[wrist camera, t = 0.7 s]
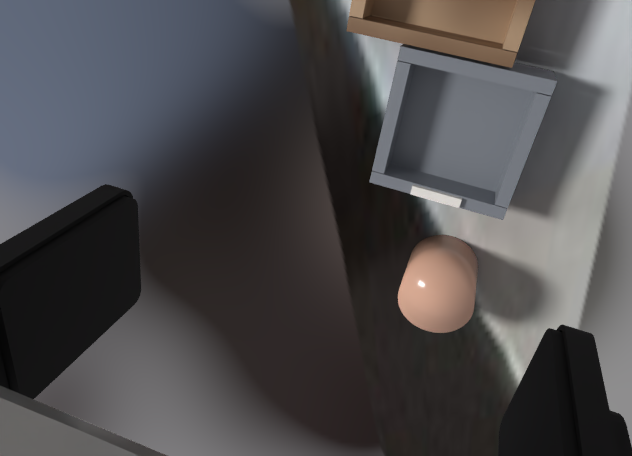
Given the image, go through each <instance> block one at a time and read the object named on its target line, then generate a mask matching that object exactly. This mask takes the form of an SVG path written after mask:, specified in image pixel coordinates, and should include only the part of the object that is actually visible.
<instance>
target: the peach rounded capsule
mask: <svg viewBox="0 0 632 456" xmlns="http://www.w3.org/2000/svg"><path fill="white" fill-rule="evenodd" d="M477 274H478V261H477V258H476V255H475V253H474V252H473V250H472V249H471V248H470V247H469V246H468V245H467V244H466V243H465V242H463V241H462V240H460V239H458V238H455V237H452V236H447V235H435V236H431V237H428V238H425V239H424V240H422V241H420V242H419V243H418V244H417V245H416V246H415V247H414V249H413V251H412V253H411V256H410V259H409V262H408V265H407V268H406V271H405V274H404V277H403V280H402V283H401V286H400V289H399V292H398V303H399V307H400V309H401V311H402V313H403V314H404V316H405V317H406V318H407V319H408V320H409V321H410V322H411V323H412V324H414V325H415V326H417V327H419V328H421V329H423V330H426V331H430V332H436V333H445V332H451V331H454V330H457V329H459V328H461V327H462V326H464V325H465V324H466V323H467V322H468V321H469V319H470V318H471V316H472V314H473V311H474V304H475V294H476V284H477Z"/></svg>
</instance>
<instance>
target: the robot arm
mask: <svg viewBox="0 0 632 456" xmlns="http://www.w3.org/2000/svg"><path fill="white" fill-rule="evenodd" d="M138 228H139V227H138V205H137V202H136V200H135V199H133V196H132V194H131V193H130V192H129V191H127V190H124V189H121V188H118V187H114V186H111V185H106V184H105V185H103V186H100V187H99V188H97V189H95V190H94V191H92V192H90V193H88V194H87V195H85V196H83V197H82V198H80V199H78V200H76V201H74V202H73V203H71V204H69V205H68V206H66V207H64V208H62V209H61V210H59V211H57V212H55V213H54V214H52V215H50V216H49V217H47V218H45V219H43V220H42V221H40V222H38V223H36V224H35V225H33V226H31V227H30V228H28V229H26V230H24V231H23V232H21V233H19V234H17V235H16V236H14V237H12V238H10V239H9V240H7V241H5V242H4V243H2V244H0V456H167V455H165V454H162V453H160V452H157V451H155V450H153V449H150V448H148V447H146V446H143V445H141V444H139V443H136V442H134V441H132V440H129V439H127V438H124V437H122V436H120V435H117V434H115V433H113V432H110V431H108V430H105V429H103V428H101V427H98V426H96V425H93V424H91V423H89V422H86V421H84V420H82V419H79V418H77V417H74V416H72V415H69V414H67V413H65V412H62V411H59V410H57V409H55V408H53V407H50V406H48V405H45V404H43V403H40V402H38V401H36V400H33V399H34V398H35V397H36V396H37V395H39V394H40V393H41V392H42V391H43V390H44V389H45V388H46V387H47V386H48V385H49V384H50V383H51V382H52V381H53V380H55V378H57V377H58V376H59V375H60V374H61V373H62V372H63V371H64V370H65V369H66V368H67V367H68V366H69V365H70V364H72V363H73V362H74V361H75V360H76V359H77V358H78V357H79V356H80V355H81V354H82V353H83V352H84V351H85V350H86V349H88V347H90V346H91V345H92V344H93V343H94V342H95V341H96V340H97V339H98V338H99V337H100V336H101V335H102V334H103V333H105V332H106V331H107V330H108V329H109V328H110V327H111V326H112V325H113V324H114V323H115V322H116V321H117V320H118V319H119V318H120V317H122V316H123V315H124V314H125V313H126V312H127V311H128V310H129V309H130V308H131V307H132V306H133V305H134V304H135V303H136V302H137V300H138V298H139V296H140V292H141V278H140V253H139V229H138ZM498 456H632V447H631V443H630V439H629V435H628V430H627V426H626V423H625V420H624V418H623V417H622V416H621V415H620V414H619V413H616V412H612V411H610V410H609V406H608V401H607V396H606V391H605V386H604V382H603V377H602V372H601V367H600V363H599V358H598V353H597V348H596V343H595V339H594V336H593V335H592V334H591V333H588V332H584V331H581V330H578V329H575V328H572V327H568V326H565V325H560V326H559V327H558V329H557V330H553V329H550V328H549V329H547V330H546V332H545V334H544V336H543V338H542V340H541V342H540V344H539V346H538V348H537V350H536V352H535V354H534V356H533V358H532V360H531V362H530V364H529V366H528V368H527V370H526V372H525V374H524V376H523V378H522V380H521V382H520V384H519V386H518V388H517V390H516V392H515V394H514V396H513V398H512V400H511V402H510V404H509V406H508V408H507V410H506V412H505V414H504V416H503V419H502V422H501V425H500V430H499V449H498Z"/></svg>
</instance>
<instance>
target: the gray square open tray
mask: <svg viewBox="0 0 632 456" xmlns="http://www.w3.org/2000/svg"><path fill="white" fill-rule="evenodd" d="M556 83H557V79H556V77H555V74H554V72H553V71H550V70H545V69H541V68H536V67H532V66H527V65H523V64H518V63H514V64H513V67H512V68H510V67H506V66H501V65H497V64H492V63H488V62H483V61H479V60H474V59H470V58H465V57H461V56H456V55H452V54H447V53H443V52H438V51H434V50H429V49H425V48H420V47H416V46H412V45H407V44H403V45H402V46H401V48H400V52H399V56H398V61H397V65H396V69H395V74H394V78H393V82H392V87H391V91H390V95H389V100H388V104H387V108H386V113H385V117H384V121H383V126H382V130H381V134H380V139H379V143H378V147H377V152H376V156H375V160H374V165H373V169H372V173H371V178H370V183H374V184H377V185H381V186H385V187H388V188H392V189H395V190H399V191H402V192H406V193H409V194H411V195H415V196H418V197H422V198H425V199H429V200H432V201H436V202H439V203H443V204H446V205H450V206H453V207H457V208H462V209H466V210H470V211H473V212H477V213H480V214H484V215H487V216H491V217H494V218H498V219H501V220H503V219H504V216H505V213H506V211H507V208H508V206H509V203H510V201H511V198H512V196H513V193H514V191H515V188H516V185H517V183H518V180H519V178H520V175H521V173H522V170H523V168H524V165H525V162H526V160H527V157H528V155H529V152H530V150H531V147H532V145H533V142H534V140H535V137H536V134H537V132H538V129H539V127H540V124H541V122H542V119H543V117H544V114H545V111H546V109H547V106H548V104H549V101H550V99H551V96H552V94H553V91H554V89H555V86H556Z"/></svg>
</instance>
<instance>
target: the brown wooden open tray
mask: <svg viewBox="0 0 632 456" xmlns="http://www.w3.org/2000/svg"><path fill="white" fill-rule="evenodd" d="M534 3H535V0H352V3H351V8H350V14H349V20H348V25H347V31H349V32H353V33H358V34H362V35H367V36H371V37H376V38H380V39H385V40H389V41H394V42H398V43H403V44H407V45H412V46H416V47H420V48H425V49H429V50H434V51H438V52H443V53H447V54H452V55H456V56H461V57H465V58H470V59H474V60H479V61H483V62H488V63H492V64H497V65H501V66H506V67H510V68H512V67H513V64H514V61H515V58H516V55H517V52H518V49H519V47H520V44H521V41H522V38H523V35H524V32H525V29H526V26H527V23H528V20H529V17H530V15H531V12H532V9H533V6H534Z"/></svg>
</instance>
